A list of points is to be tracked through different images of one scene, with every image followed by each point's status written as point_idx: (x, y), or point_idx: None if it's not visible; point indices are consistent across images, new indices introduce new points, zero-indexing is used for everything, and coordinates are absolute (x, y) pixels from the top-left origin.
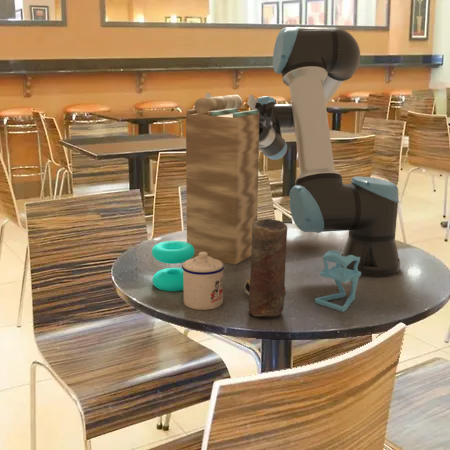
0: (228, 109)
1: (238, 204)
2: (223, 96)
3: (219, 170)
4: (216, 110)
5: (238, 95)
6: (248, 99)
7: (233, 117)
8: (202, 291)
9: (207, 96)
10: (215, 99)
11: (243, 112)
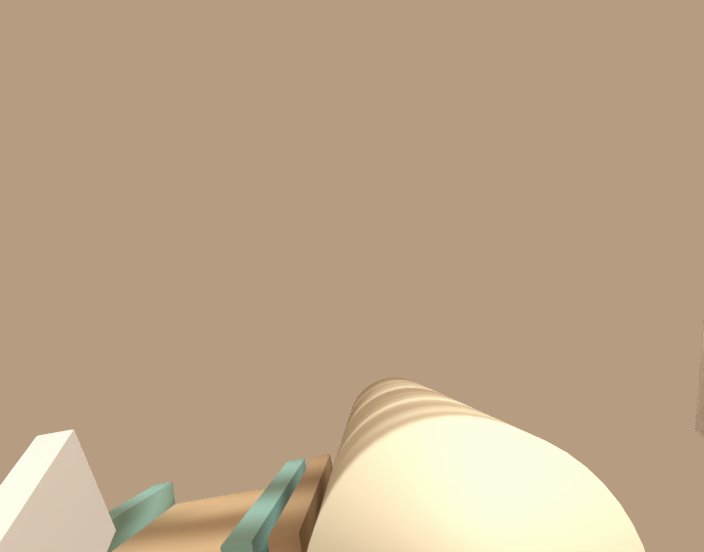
0: (272, 504)
1: None
2: (383, 397)
3: None
4: (317, 471)
5: (373, 454)
6: (91, 486)
7: (170, 505)
8: None
9: (700, 369)
10: (358, 403)
11: (117, 508)
